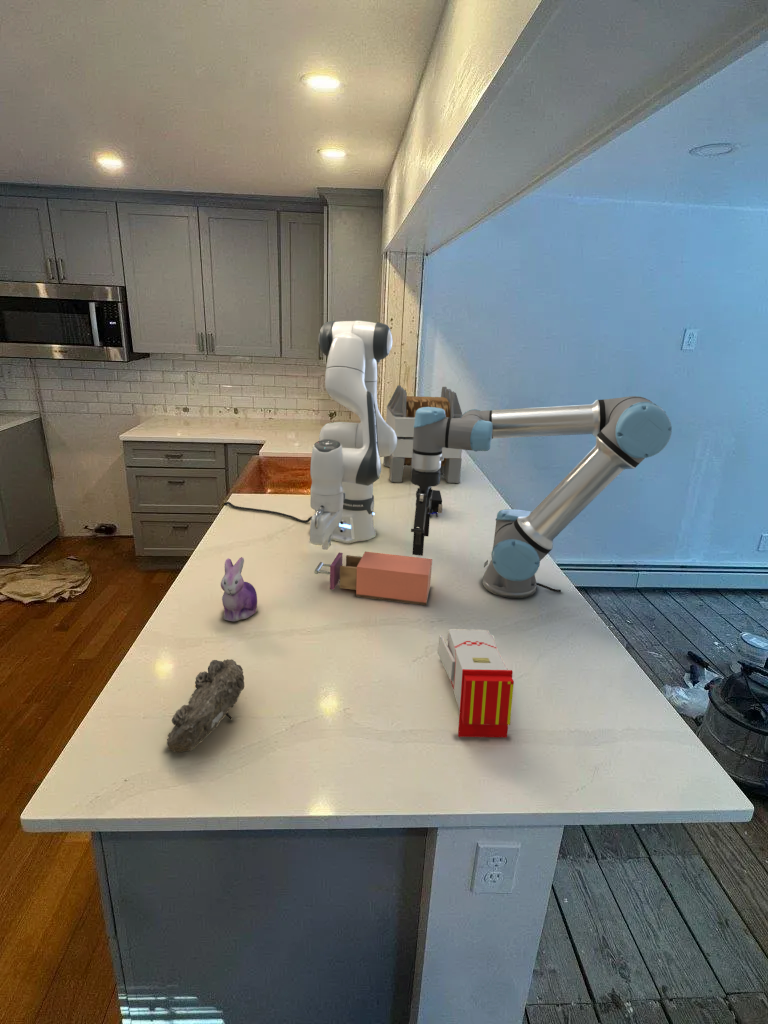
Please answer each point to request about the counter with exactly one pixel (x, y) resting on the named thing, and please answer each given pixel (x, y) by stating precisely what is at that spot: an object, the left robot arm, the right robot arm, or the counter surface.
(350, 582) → the drawer
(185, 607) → the counter surface
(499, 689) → the toy
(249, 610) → the figurine
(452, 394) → the transformer
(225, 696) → the fossil
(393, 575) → the cabinet
